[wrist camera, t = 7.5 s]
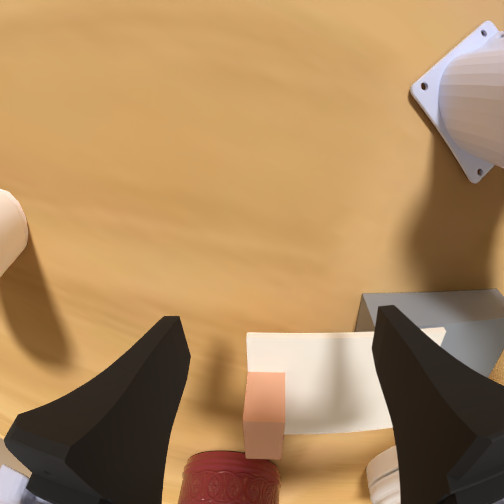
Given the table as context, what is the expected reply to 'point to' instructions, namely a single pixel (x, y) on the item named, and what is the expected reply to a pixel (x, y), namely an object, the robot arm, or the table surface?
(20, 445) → the robot arm
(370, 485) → the honey pot
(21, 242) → the foam cup
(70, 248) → the table surface
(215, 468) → the canister
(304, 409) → the carton lid
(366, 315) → the carton
